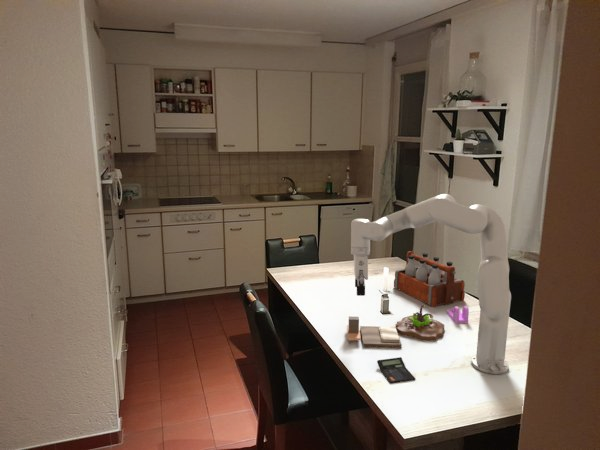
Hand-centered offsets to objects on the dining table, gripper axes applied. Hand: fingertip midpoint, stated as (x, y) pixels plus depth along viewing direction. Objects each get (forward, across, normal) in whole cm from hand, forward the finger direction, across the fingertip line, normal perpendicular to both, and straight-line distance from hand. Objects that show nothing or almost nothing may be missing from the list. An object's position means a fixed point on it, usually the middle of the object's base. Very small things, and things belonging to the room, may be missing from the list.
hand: (359, 291), depth 185 cm
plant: (+22, +10, -27) cm, 36 cm away
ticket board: (+21, +1, -9) cm, 23 cm away
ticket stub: (+19, +1, +2) cm, 19 cm away
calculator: (+22, -26, -11) cm, 36 cm away
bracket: (+21, +24, -46) cm, 56 cm away
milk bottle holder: (+21, +53, -39) cm, 69 cm away
